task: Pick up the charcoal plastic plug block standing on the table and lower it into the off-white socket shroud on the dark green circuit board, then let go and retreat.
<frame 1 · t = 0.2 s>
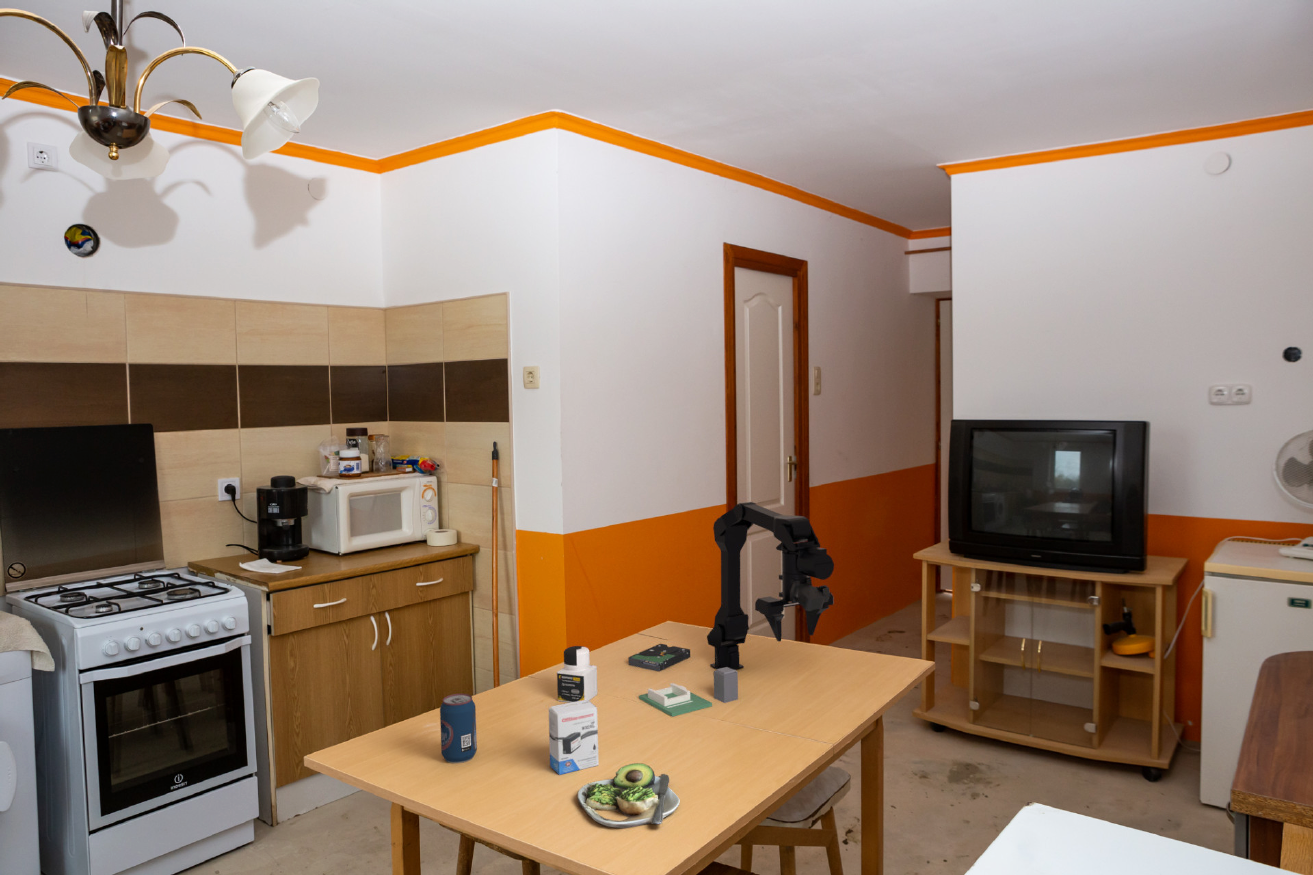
hand: (795, 638, 204), 14 cm above the table, fingers open, 9 cm apart
disk drive: (659, 663, 235), on the table
plug: (725, 698, 205), on the table
ink box: (574, 766, 171), on the table
board: (675, 702, 204), on the table
avocado toast plate: (629, 805, 155), on the table
medicine bottle: (577, 698, 208), on the table
soda can: (459, 758, 176), on the table
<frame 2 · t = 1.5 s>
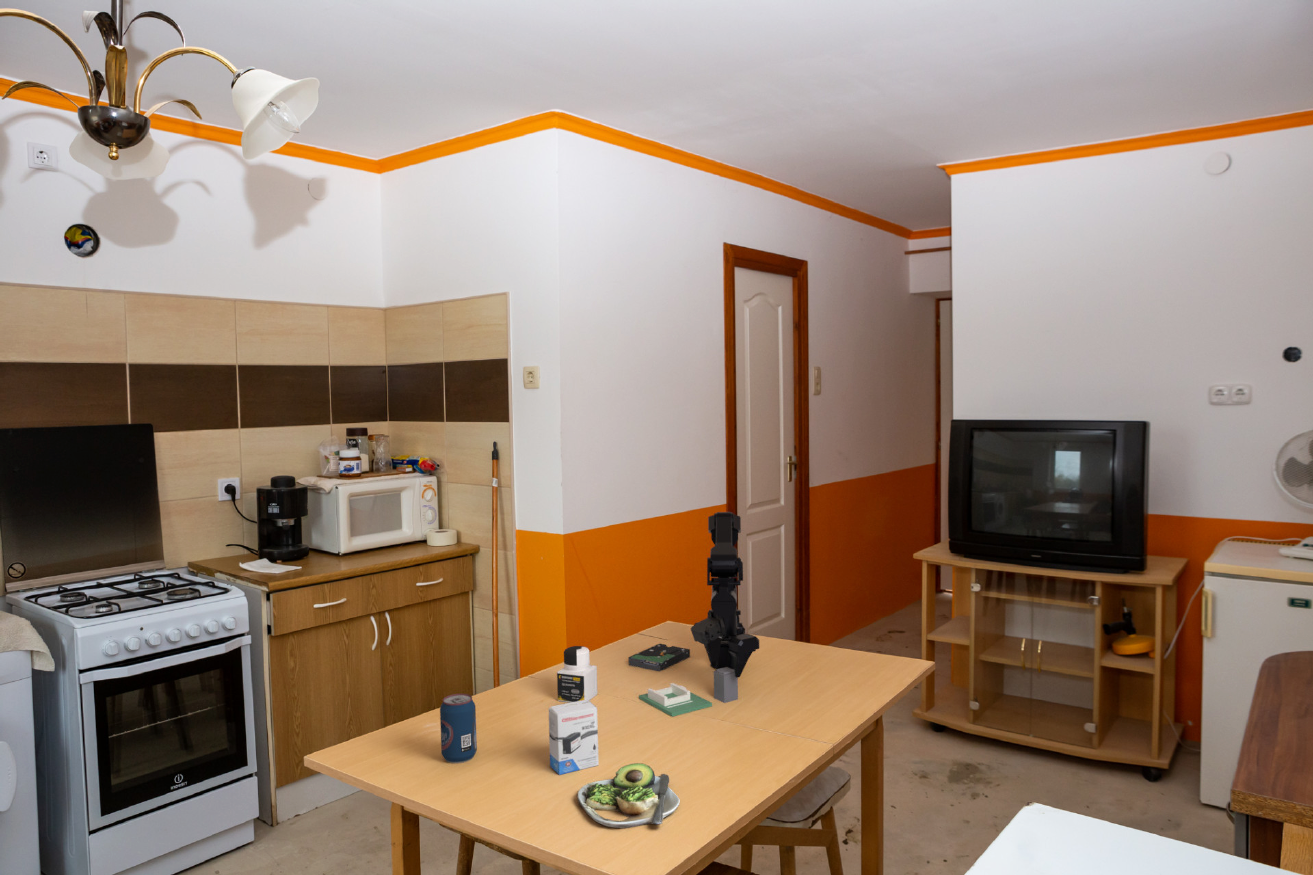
hand: (725, 671, 205), 6 cm above the table, fingers open, 9 cm apart
nothing on the table moved.
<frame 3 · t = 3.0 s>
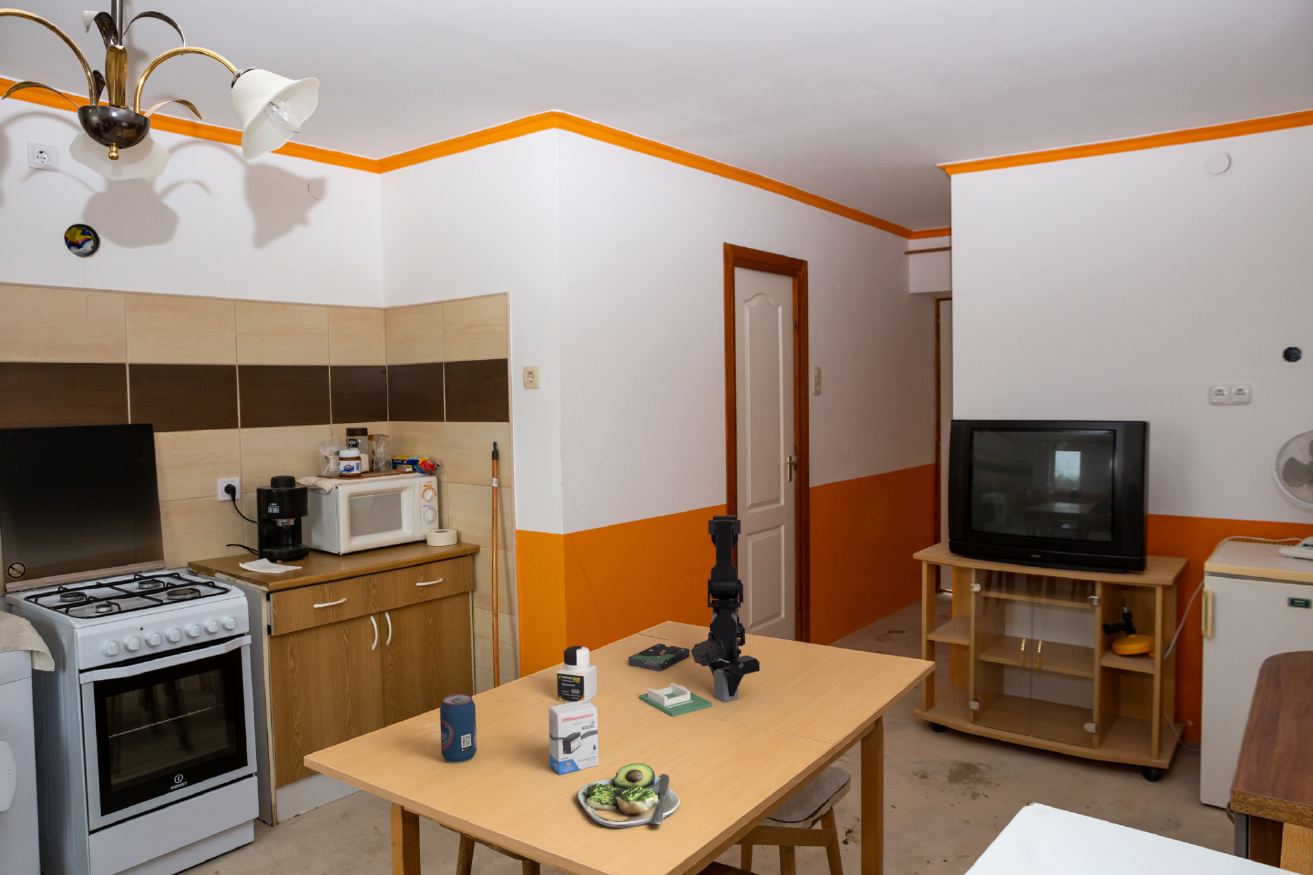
hand: (725, 693, 205), 1 cm above the table, fingers closed on plug, 4 cm apart
plug: (725, 698, 205), on the table, touching gripper
everything else where it was.
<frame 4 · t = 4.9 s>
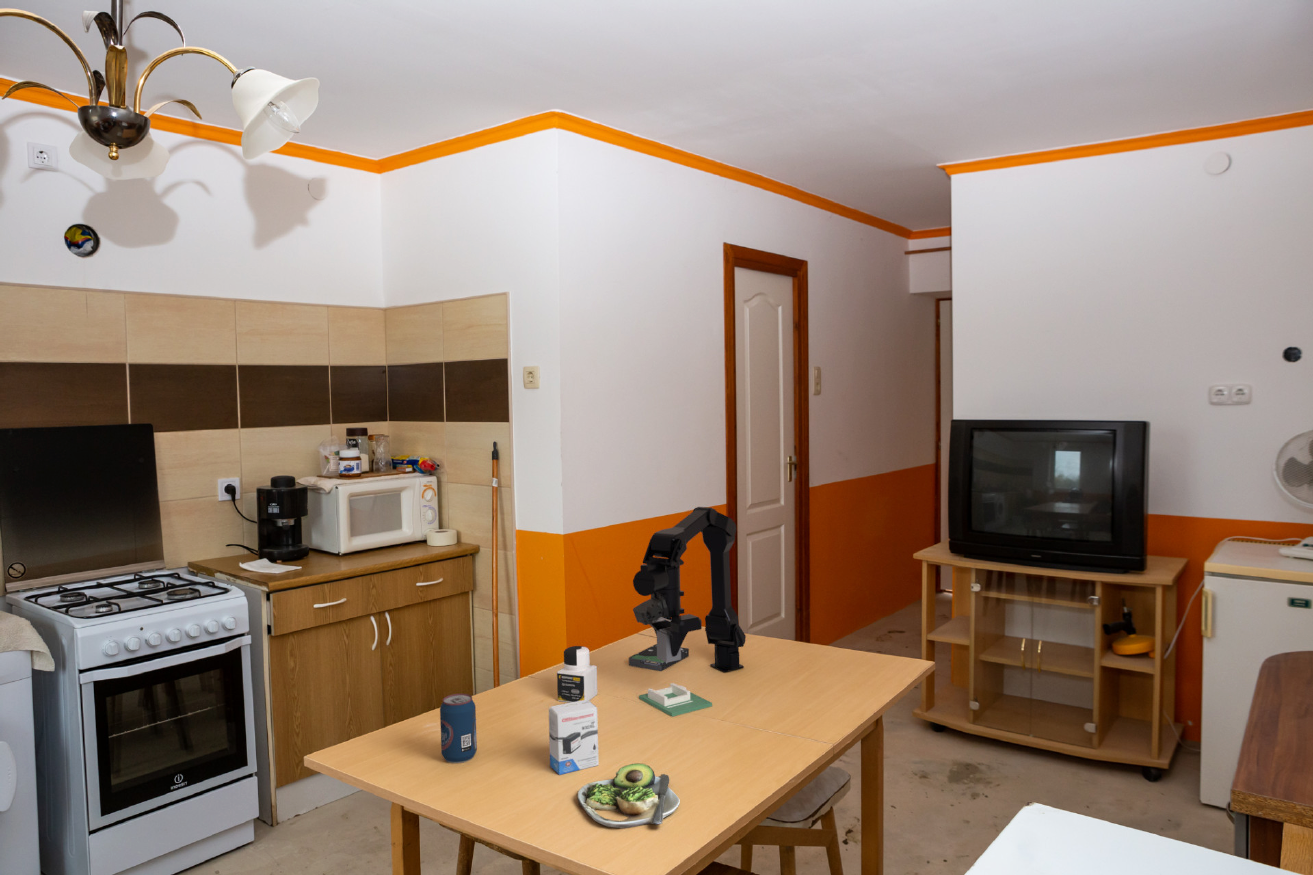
hand: (669, 653, 203), 11 cm above the table, fingers closed on plug, 4 cm apart
plug: (669, 658, 203), point 10 cm above the table, touching gripper
everything else where it was.
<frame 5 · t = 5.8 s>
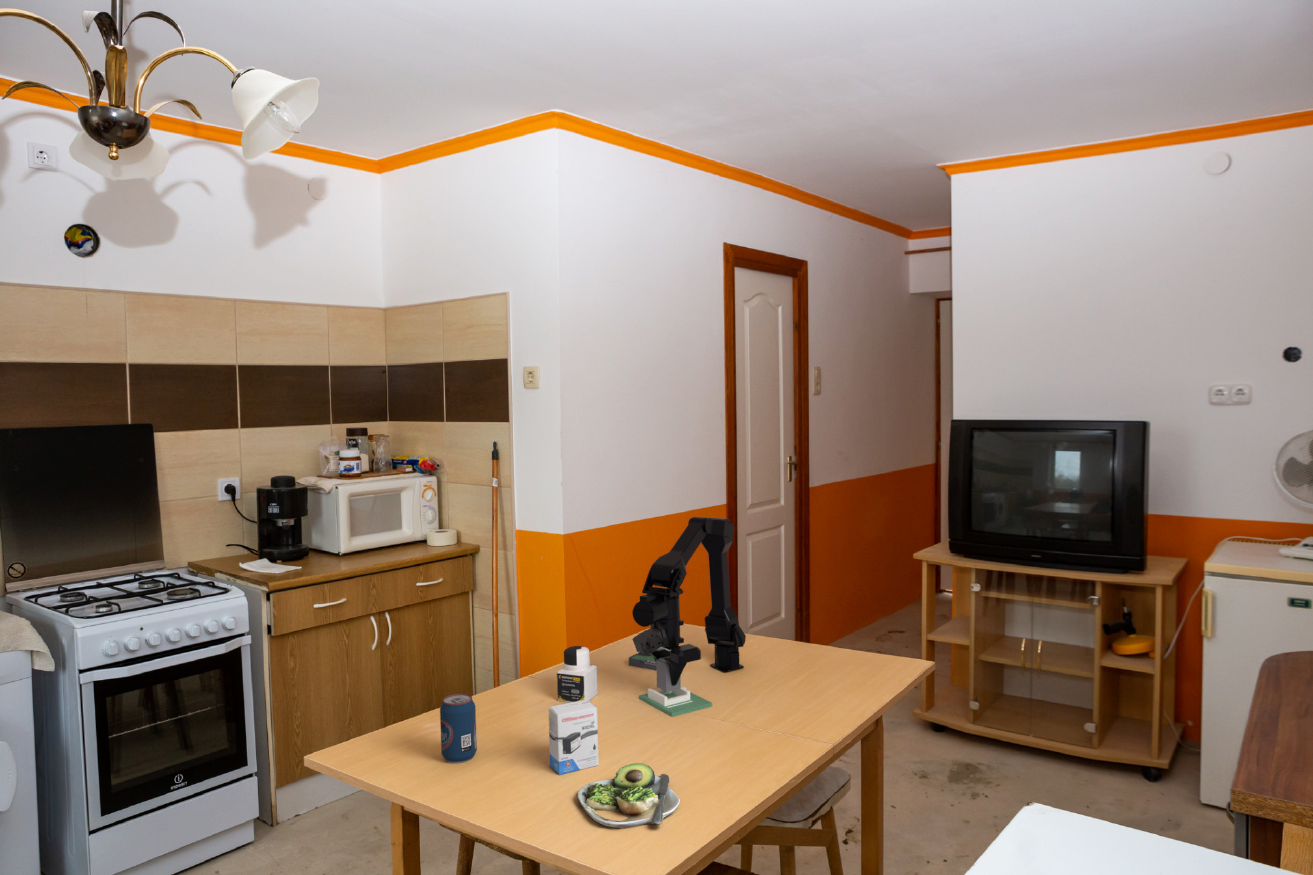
hand: (668, 682, 204), 5 cm above the table, fingers closed on plug, 4 cm apart
plug: (668, 687, 204), point 3 cm above the table, touching gripper
everything else where it was.
when the fingers open (3 cm above the table, at t = 6.7 s): plug drops 1 cm, resting on board.
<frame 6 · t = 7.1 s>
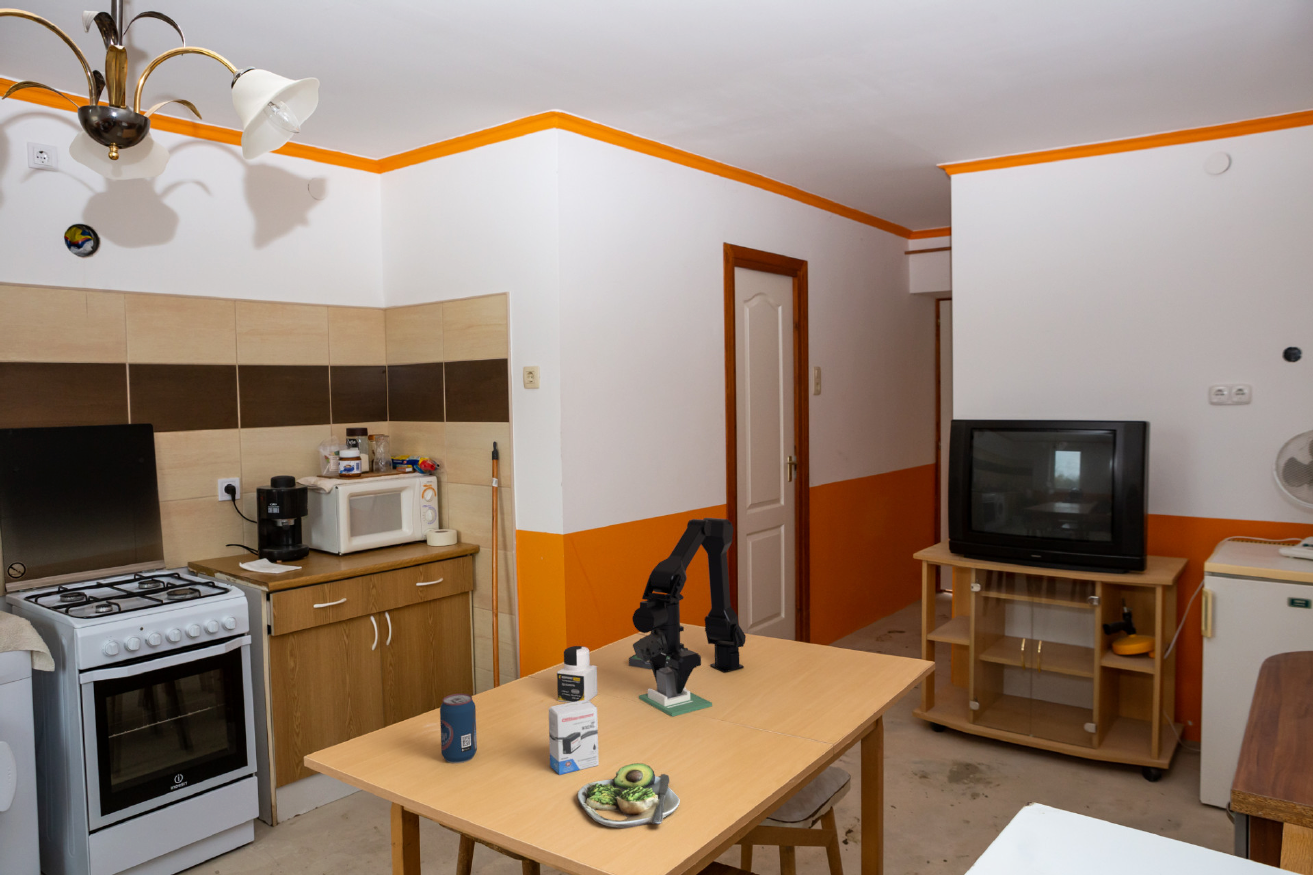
hand: (668, 688, 204), 3 cm above the table, fingers open, 8 cm apart
plug: (668, 698, 204), point 1 cm above the table, touching board
everything else where it was.
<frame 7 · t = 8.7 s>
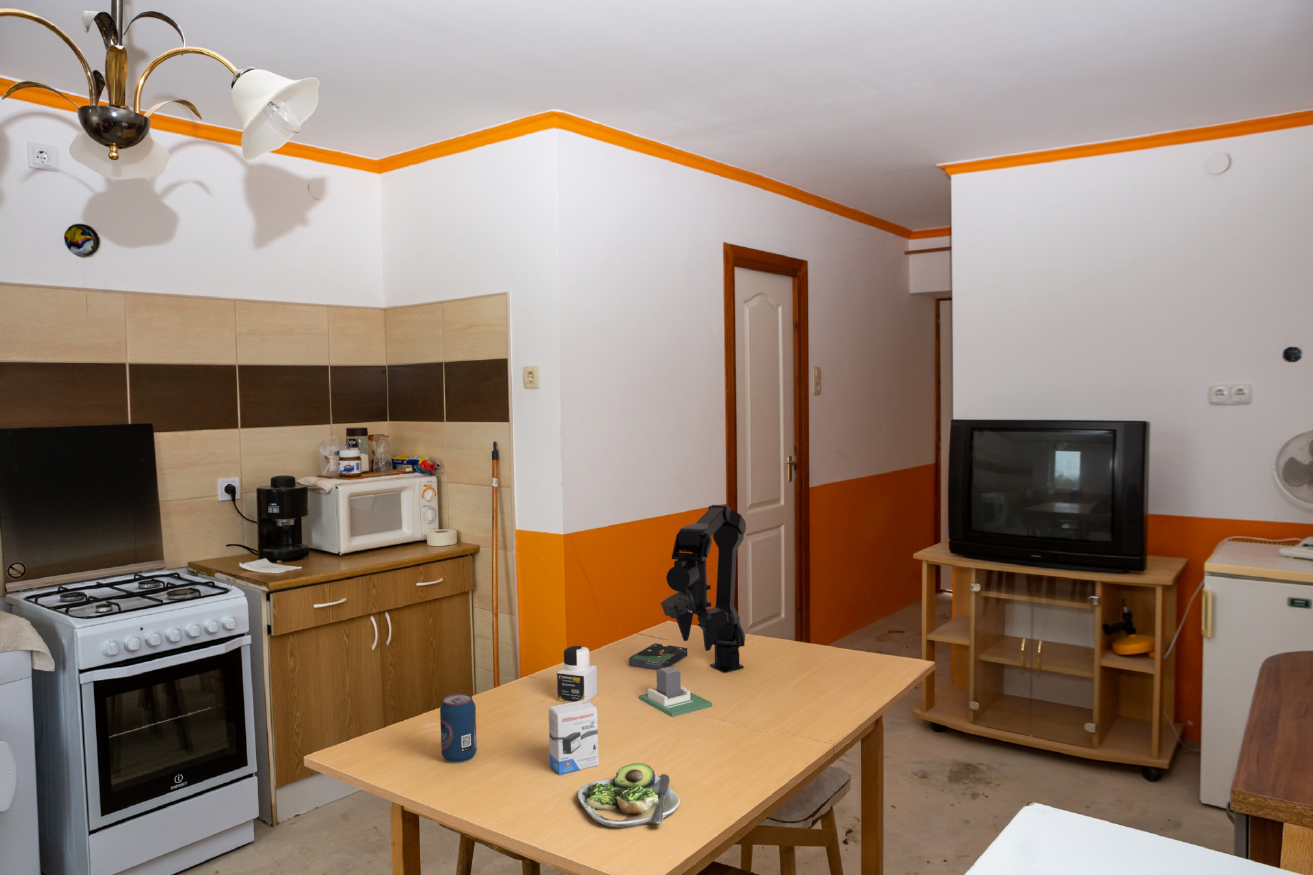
hand: (696, 645, 208), 12 cm above the table, fingers open, 9 cm apart
nothing on the table moved.
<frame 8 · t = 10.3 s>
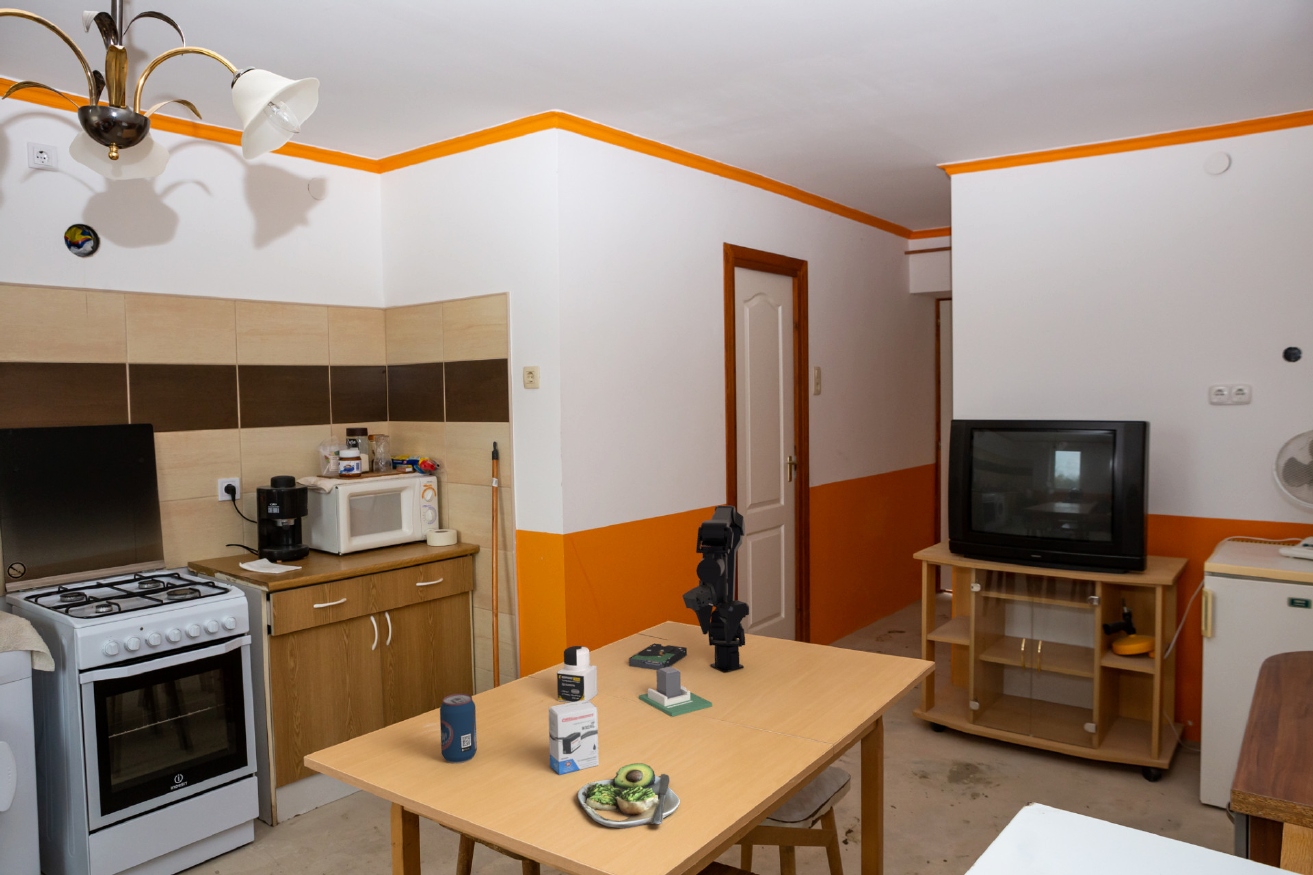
hand: (716, 638, 211), 13 cm above the table, fingers open, 9 cm apart
nothing on the table moved.
at the end: plug 0.0 cm from the target spot on the board, point 0.8 cm above the board's base; plug tilted 0°; the gripper is holding nothing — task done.
